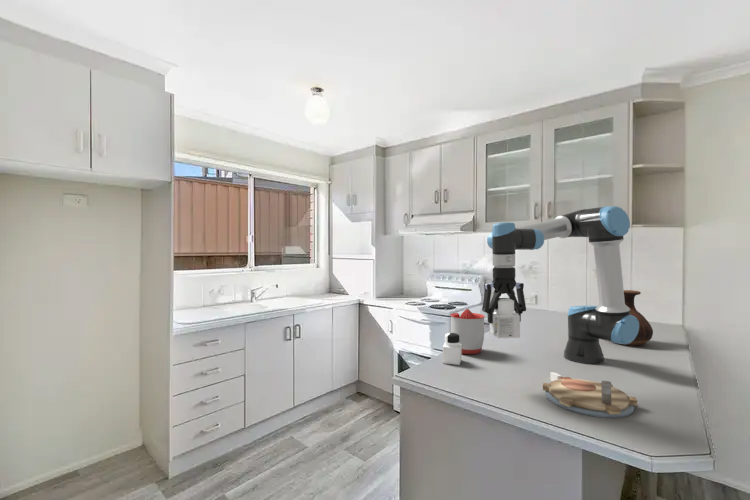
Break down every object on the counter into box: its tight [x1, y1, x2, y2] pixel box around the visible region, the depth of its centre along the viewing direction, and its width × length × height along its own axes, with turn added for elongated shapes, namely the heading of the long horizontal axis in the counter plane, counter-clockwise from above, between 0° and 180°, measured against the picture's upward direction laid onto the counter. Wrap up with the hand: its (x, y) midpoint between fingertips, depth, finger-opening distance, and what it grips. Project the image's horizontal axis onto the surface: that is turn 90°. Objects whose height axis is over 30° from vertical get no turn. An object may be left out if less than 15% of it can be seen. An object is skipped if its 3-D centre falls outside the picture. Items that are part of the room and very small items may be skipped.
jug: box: [617, 289, 654, 346], centre depth 184 cm, size 22×22×30 cm
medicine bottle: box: [442, 332, 463, 366], centre depth 153 cm, size 7×7×12 cm
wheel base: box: [545, 371, 635, 419], centre depth 116 cm, size 29×24×3 cm
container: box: [489, 297, 521, 339], centre depth 126 cm, size 8×8×13 cm
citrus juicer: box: [450, 308, 485, 355], centre depth 170 cm, size 16×17×20 cm
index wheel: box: [542, 376, 638, 414], centre depth 114 cm, size 25×24×8 cm
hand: (504, 332), depth 126 cm, fingers closed on container, 8 cm apart
